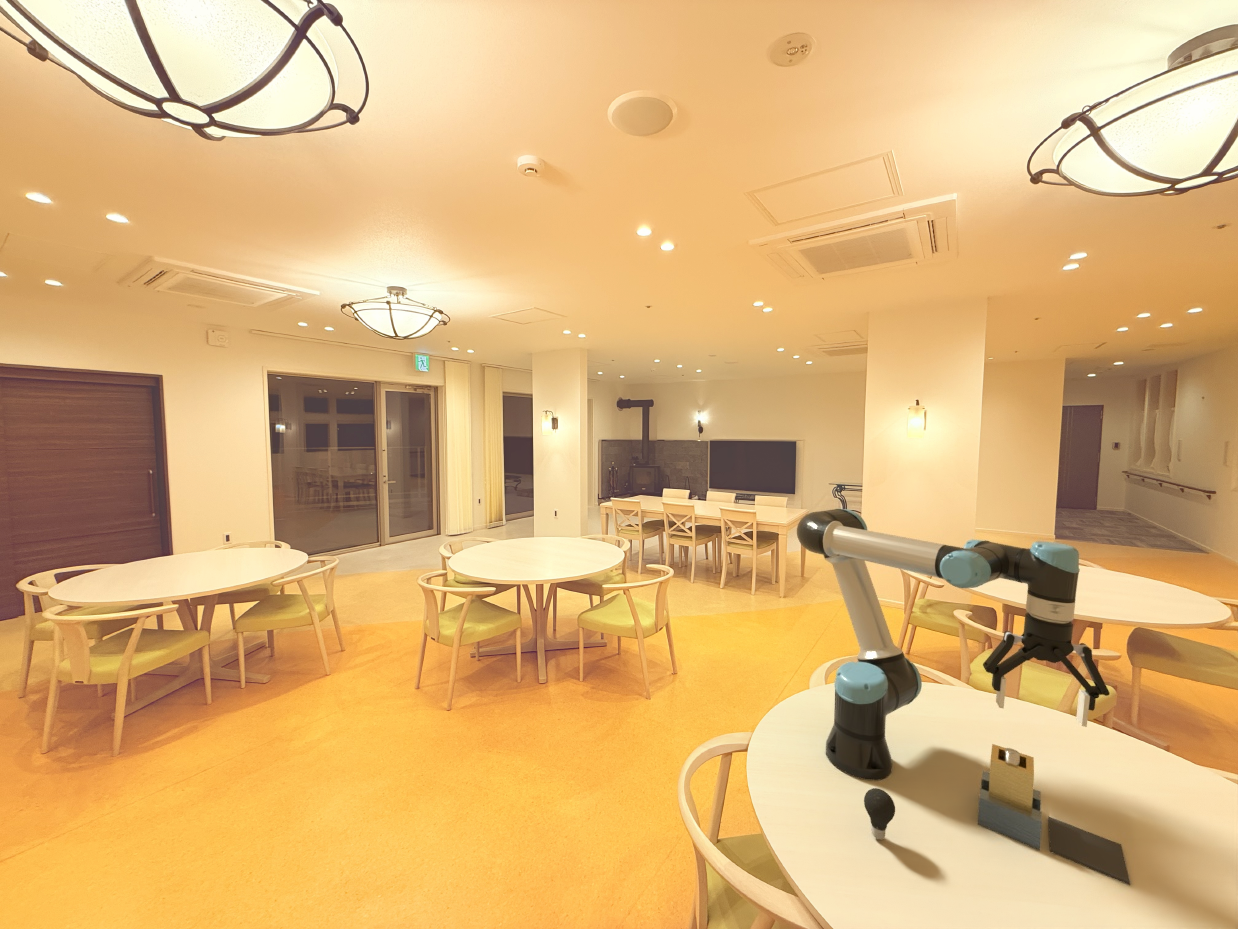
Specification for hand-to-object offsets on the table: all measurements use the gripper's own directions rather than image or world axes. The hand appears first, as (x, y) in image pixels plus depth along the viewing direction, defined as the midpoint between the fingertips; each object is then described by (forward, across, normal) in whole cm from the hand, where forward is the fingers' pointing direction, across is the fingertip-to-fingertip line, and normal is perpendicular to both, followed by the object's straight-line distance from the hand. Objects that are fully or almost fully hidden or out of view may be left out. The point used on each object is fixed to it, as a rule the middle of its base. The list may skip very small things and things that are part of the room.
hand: (1039, 714), depth 102 cm
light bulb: (+24, -30, -20) cm, 44 cm away
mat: (+24, +8, -5) cm, 25 cm away
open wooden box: (+18, -4, -3) cm, 19 cm away
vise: (+24, -3, +1) cm, 24 cm away
